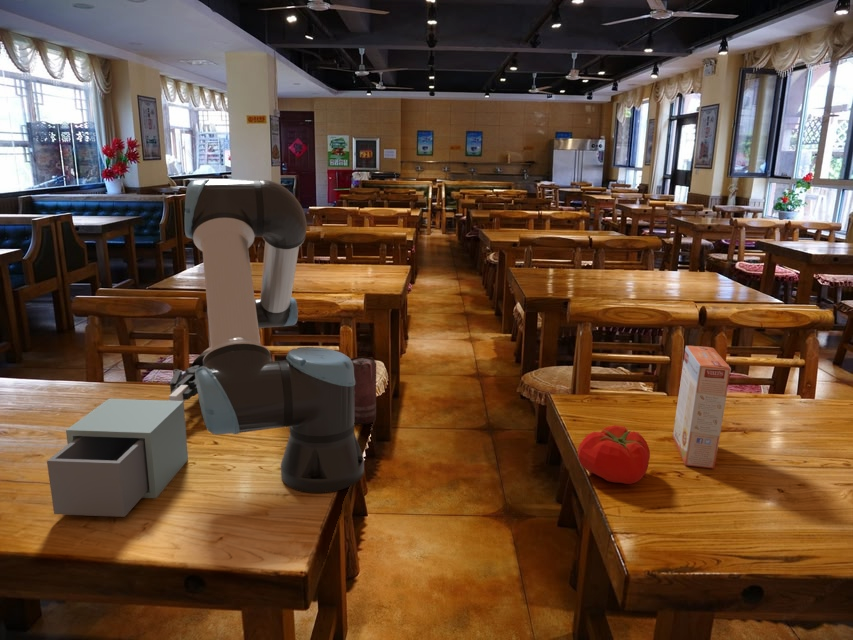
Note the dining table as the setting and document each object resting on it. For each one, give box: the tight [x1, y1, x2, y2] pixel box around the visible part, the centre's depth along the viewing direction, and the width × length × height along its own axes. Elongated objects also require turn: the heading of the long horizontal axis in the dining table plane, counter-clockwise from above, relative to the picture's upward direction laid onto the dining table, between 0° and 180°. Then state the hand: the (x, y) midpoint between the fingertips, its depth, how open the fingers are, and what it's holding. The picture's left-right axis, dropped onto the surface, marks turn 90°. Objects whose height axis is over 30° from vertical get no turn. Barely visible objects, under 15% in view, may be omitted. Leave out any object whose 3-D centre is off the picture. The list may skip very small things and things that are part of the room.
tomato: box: [577, 425, 651, 485], centre depth 117 cm, size 14×13×9 cm
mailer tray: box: [46, 436, 149, 518], centre depth 110 cm, size 24×11×9 cm, turn 179°
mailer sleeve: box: [65, 398, 189, 499], centre depth 113 cm, size 14×14×12 cm
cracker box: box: [672, 345, 732, 469], centre depth 127 cm, size 14×6×21 cm, turn 168°
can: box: [350, 356, 377, 426], centre depth 139 cm, size 6×6×14 cm
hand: (173, 402), depth 131 cm, fingers closed
